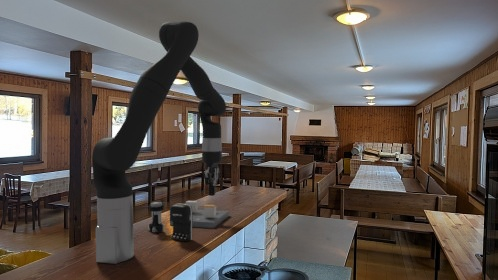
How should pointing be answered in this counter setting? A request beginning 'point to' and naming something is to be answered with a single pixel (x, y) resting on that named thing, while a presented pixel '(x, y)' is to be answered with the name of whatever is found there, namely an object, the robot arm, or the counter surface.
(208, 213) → the handle
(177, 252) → the counter surface
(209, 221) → the breaker board
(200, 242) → the counter surface
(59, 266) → the counter surface
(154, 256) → the counter surface
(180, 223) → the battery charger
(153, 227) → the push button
